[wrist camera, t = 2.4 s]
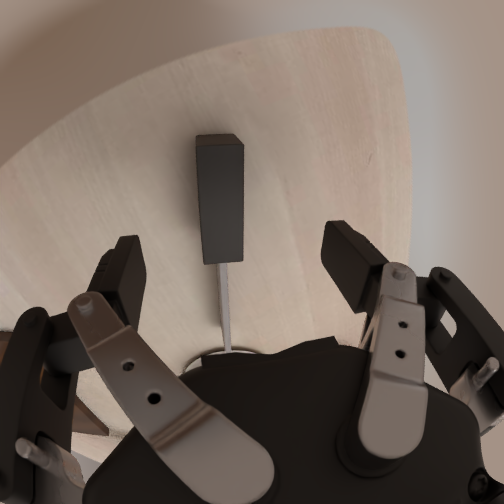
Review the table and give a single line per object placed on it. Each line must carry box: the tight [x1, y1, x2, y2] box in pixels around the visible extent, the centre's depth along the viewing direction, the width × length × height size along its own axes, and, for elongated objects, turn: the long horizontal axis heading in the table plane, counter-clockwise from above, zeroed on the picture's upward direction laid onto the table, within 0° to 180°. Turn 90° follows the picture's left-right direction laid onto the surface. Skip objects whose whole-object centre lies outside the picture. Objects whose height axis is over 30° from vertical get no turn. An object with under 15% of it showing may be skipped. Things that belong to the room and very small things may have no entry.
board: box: [0, 331, 109, 436], centre depth 26 cm, size 26×22×2 cm
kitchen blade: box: [196, 134, 244, 353], centre depth 19 cm, size 17×2×4 cm, turn 179°
